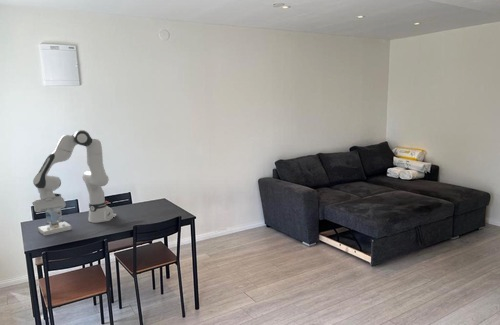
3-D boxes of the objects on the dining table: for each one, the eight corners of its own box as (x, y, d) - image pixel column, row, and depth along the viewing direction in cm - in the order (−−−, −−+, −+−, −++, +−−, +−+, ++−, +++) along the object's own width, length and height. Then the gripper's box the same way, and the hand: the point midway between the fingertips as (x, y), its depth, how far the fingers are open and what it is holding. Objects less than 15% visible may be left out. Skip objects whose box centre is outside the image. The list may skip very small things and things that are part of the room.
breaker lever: (51, 225, 261) (50, 211, 258) (56, 224, 264) (55, 210, 261) (52, 226, 260) (51, 213, 257) (57, 225, 262) (56, 212, 259)
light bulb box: (46, 223, 275) (45, 210, 274) (46, 221, 281) (45, 208, 279) (62, 221, 281) (61, 208, 279) (61, 219, 287) (60, 206, 285)
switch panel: (38, 231, 260) (37, 222, 259) (65, 225, 272) (64, 217, 271) (44, 235, 251) (43, 227, 250) (71, 229, 263) (70, 221, 262)
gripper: (32, 198, 256) (37, 214, 251) (63, 193, 270) (68, 209, 265) (31, 203, 260) (35, 219, 255) (61, 198, 274) (66, 213, 269)
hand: (52, 214), depth 260 cm, fingers closed, pressing on breaker lever
